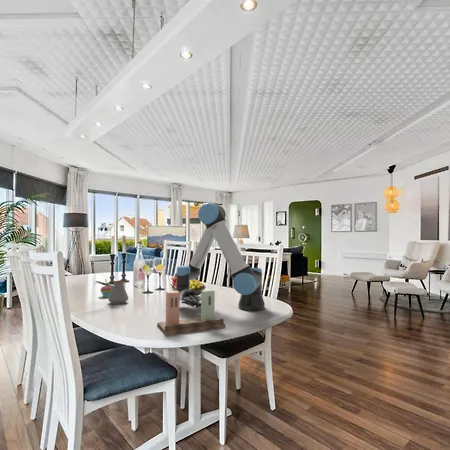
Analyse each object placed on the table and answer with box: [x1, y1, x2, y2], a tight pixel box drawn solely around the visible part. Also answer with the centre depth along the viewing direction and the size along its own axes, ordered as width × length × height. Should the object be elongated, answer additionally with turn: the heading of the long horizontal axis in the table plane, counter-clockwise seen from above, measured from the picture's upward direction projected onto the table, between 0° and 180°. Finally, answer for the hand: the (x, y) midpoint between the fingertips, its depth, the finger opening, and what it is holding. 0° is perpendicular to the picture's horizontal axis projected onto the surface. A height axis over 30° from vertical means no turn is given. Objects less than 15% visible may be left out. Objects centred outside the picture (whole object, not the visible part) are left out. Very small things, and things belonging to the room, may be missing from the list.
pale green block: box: [200, 288, 216, 321], centre depth 140 cm, size 5×4×14 cm
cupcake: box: [100, 278, 113, 298], centre depth 199 cm, size 9×8×12 cm
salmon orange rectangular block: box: [165, 290, 181, 325], centre depth 135 cm, size 5×4×14 cm
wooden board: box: [156, 316, 226, 337], centre depth 136 cm, size 27×15×4 cm, turn 116°
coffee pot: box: [94, 280, 129, 305], centre depth 177 cm, size 21×12×15 cm, turn 145°
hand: (205, 306), depth 142 cm, fingers closed
